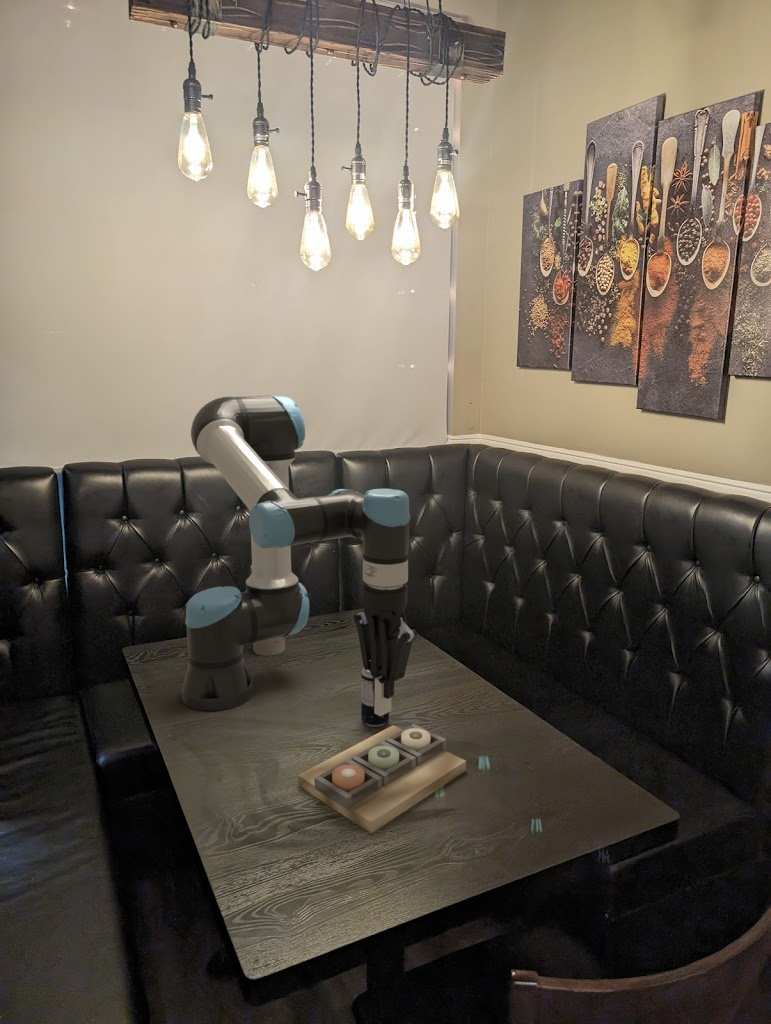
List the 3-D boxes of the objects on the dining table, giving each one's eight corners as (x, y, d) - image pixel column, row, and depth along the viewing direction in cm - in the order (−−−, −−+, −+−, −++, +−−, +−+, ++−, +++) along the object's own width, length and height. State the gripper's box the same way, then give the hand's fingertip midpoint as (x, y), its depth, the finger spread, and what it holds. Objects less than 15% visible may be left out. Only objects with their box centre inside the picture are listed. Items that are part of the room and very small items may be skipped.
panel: (295, 786, 121) (295, 765, 120) (394, 733, 139) (395, 714, 138) (369, 834, 109) (369, 812, 108) (467, 769, 127) (468, 749, 126)
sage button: (362, 766, 123) (361, 752, 123) (383, 754, 127) (383, 741, 127) (383, 778, 120) (384, 765, 119) (405, 766, 123) (405, 752, 123)
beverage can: (386, 730, 140) (386, 674, 137) (358, 727, 141) (358, 671, 138) (391, 716, 145) (391, 662, 143) (364, 713, 146) (364, 660, 144)
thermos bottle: (291, 649, 178) (288, 543, 172) (264, 658, 173) (261, 549, 167) (273, 640, 184) (270, 537, 178) (247, 648, 179) (243, 542, 173)
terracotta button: (325, 786, 117) (325, 772, 117) (349, 773, 121) (349, 759, 121) (347, 800, 114) (347, 786, 113) (371, 786, 117) (371, 772, 117)
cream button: (395, 747, 129) (395, 734, 129) (414, 736, 133) (414, 724, 133) (416, 759, 126) (417, 745, 125) (436, 747, 129) (436, 734, 129)
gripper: (341, 578, 118) (341, 706, 123) (398, 598, 109) (395, 734, 114) (373, 569, 123) (371, 692, 129) (429, 587, 114) (425, 718, 120)
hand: (382, 711), depth 122 cm, fingers closed
